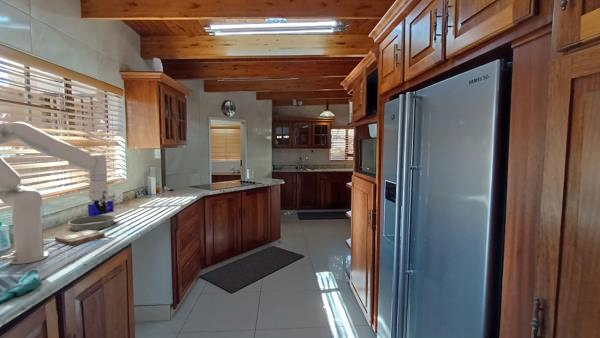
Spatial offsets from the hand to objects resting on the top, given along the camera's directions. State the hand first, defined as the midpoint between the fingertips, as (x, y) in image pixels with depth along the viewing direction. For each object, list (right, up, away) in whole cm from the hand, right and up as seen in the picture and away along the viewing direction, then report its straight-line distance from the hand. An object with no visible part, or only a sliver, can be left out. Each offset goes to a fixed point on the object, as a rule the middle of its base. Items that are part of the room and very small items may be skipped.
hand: (99, 212), depth 157 cm
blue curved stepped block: (0, -1, 0) cm, 1 cm away
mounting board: (-13, -15, +4) cm, 21 cm away
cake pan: (-25, -13, +31) cm, 41 cm away
